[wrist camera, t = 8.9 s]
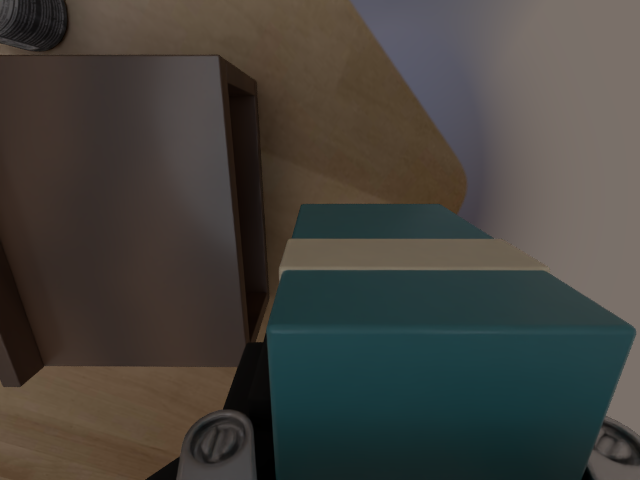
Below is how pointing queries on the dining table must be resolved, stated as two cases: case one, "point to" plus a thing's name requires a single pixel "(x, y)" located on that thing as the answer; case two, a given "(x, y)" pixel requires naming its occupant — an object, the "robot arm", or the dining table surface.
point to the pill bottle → (32, 23)
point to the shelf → (128, 212)
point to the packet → (431, 353)
